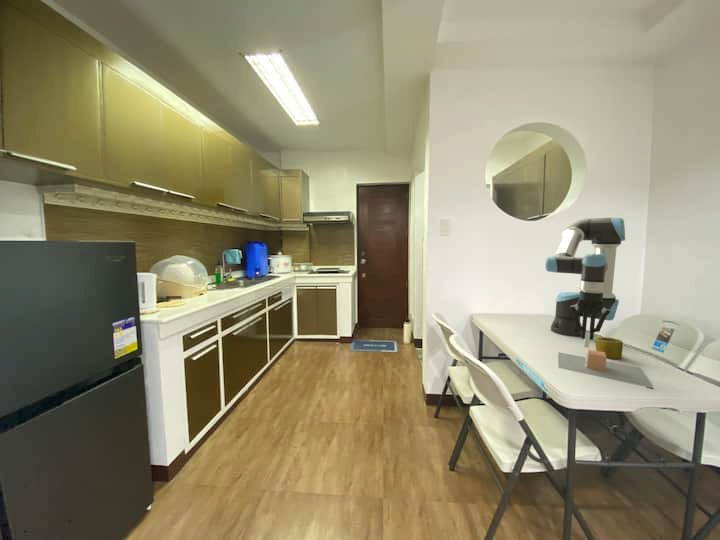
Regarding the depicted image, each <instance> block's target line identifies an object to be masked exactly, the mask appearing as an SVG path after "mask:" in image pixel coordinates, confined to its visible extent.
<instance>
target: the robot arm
mask: <svg viewBox="0 0 720 540" xmlns="http://www.w3.org/2000/svg"><path fill="white" fill-rule="evenodd" d="M625 227H626V226H625V220H624V219H623V218H621V217H598V218H597V217H596V218H583V219H579V220H576V221H575V222H572V223H571V224H569V225H568V226H567V227H565V229H564V230H563V232H562V234H561V238H562V239H561V240H560V243H559V245H558V248H557V250H556V251H555V253H554V255H549V256H547V257H546V260H545V270H546V272H549V273H555V274H556V273H558V274H574V275H581V276H580V283H579V284H580V285H579V289H580V291H579V292H577V291H573V292H572V291H570V292H569V291H567V292H560V293H558V294H557V295H556V300H555V302H556V305H555V316H554V319H553V321H552V323H551V325H550V330H551V332H554V333H555V334H558V335H562V336H564V335H565V336H569V337H581V339H584V340H583V347H584V348H587V349H589V348H590V341H594V333H600V331H601V329H602V327H603V324H604V322H605V321H613V320H614V319H615V317H616V312H617V309H618V306H619V302H620V300H619V299H616V297H617V296H616V294H615V293H613V287H614V278H615V265H616V256H617V255H616V254H617V248H618V247H619V246H620V245H621V244H622V242H624V241H626V228H625ZM583 241H591V245H592V246H593V247H594V253H586V254H584V255H582V257H579V256H577V257H576V256H575V255H576V253H577V251H578V248H579V245H580V243H581V242H583ZM581 318H582V323H581ZM588 318H590V323H589V330H587V324H588V323H587V321H588ZM596 319H597V320H598V321H597V324H596ZM595 325H596V326H595Z"/></svg>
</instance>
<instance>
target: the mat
mask: <svg viewBox="0 0 720 540" xmlns="http://www.w3.org/2000/svg"><path fill="white" fill-rule="evenodd" d="M557 357H558V358H557V359H558V360H557V361H558V362H557V363H558V365H557V366H558V367H557V368H558V369H561V370H567V371H572V372H576V373H582V374H585V375H591V376H595V377H599V378H604V379H609V380H613V381H614V380H615V381H618V382H622V383H628V384H632V385H633V384H634V385H637V386H642V387H646V388H647V389H651V390H654V387H653V384H652V383H651V382H650V380H649V378H648V377H647V376H646V374H645V372H644V370H643V369H642V368H641V367H639V366H634V365H628V364H624V363H618V362H613V361H607V360H606V367H605V371H601V370H596V369H591V368H586V365H585V358H586V356H581V355H575V354H571V353H564V352H561V351H560V352H559V351H558V353H557Z"/></svg>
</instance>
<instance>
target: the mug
mask: <svg viewBox="0 0 720 540" xmlns="http://www.w3.org/2000/svg"><path fill="white" fill-rule="evenodd" d="M593 342H594V343H595V351H600V352H605V355H606V357H607V358H606V359H609V360H619V359H622V357H623V345H624V342H623V341H622V340H620V339H619V338H614V337H605V336H604V337H601V336H593Z"/></svg>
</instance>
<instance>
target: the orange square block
mask: <svg viewBox="0 0 720 540" xmlns="http://www.w3.org/2000/svg"><path fill="white" fill-rule="evenodd" d="M585 357H586V358H585V365H586V368H591V369H596V370H601V371H605V367H606V361H607V359H608V358H607V357H606V355H605V352H600V351H596V349H595V350H593V349H589V348H587V349H585Z"/></svg>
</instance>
